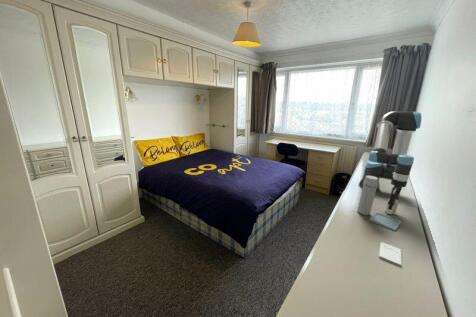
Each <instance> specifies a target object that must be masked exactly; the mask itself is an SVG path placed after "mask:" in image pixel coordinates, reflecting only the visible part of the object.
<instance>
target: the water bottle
mask: <svg viewBox="0 0 476 317" xmlns="http://www.w3.org/2000/svg"><path fill="white" fill-rule="evenodd" d="M377 184H378V178H377V177H374V176H366V177H365V180H364V182H363V188H361V192H360V193H361V194H360V198H359V202H358V207H357V212H358V213H359V214H362V215H364V216H369V215H371V213H372V212H371V211H372V207H373V204H374V200H375V196H376V193H377V191H376V189H377V187H378V185H377Z"/></svg>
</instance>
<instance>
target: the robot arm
mask: <svg viewBox="0 0 476 317" xmlns="http://www.w3.org/2000/svg"><path fill="white" fill-rule="evenodd" d="M421 124H422V113H421V112H419V111H402V110H401V111H400V110H399V111H398V110H393V111H390V112H389V111H388V112H387V113H385V114H384V115H382V116H381V117H380V118H379V119H378V121H377V134H376V138H375V143H374V147H373V150H370V151H369V156H368V159H367V160H368V161H367V162H366V163H365V166H364V170H363V175H362V178H361V179H360V181H359V182H358V186H359V187H360V188H361V189H362V188H363V182H364V180H365V177H366V176H374V177H377V178H378V184H377V185H378V187H377V189H376V192H378V191H380V188H381V185H380V179H384V180H388V181H391V182H390V184H391V185H392V186H393V187H392V189H391V193H390V197H389V198H388V199H389V203H387V202H386V205H387V204H389V205H388V208H387V212H386V211H385V212H386V213H387V214H389V215H393V214H392V211H393V208H394V203H395V200H396V199H397V200H398V201H399V198H400V194H401V191H402V189H403V188H406V187H407V184H408V181H409V178H410V173H411V170H412V167H413V164H414V160H415V158H414V156H412V155H408V154H407V153H408V151H409V146H410V143H411V139H412V135H413V133H415V132H416V131H417V129H420V128H421ZM394 127H395V130H396V131H397V134H396V137H395V140H394V144H393V147H392V152H391V153H390V152H389V153H388V147H389V146H388V145H389V141H390V135H391V129H392V128H394Z"/></svg>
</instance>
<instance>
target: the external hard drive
mask: <svg viewBox="0 0 476 317" xmlns="http://www.w3.org/2000/svg"><path fill="white" fill-rule="evenodd" d="M378 259H381V260H384V261H386V262H389V263H391V264H393V265H395V266H398V267H399V268H402V265H403V262H402V260H403V259H402V249H401V248H398V247H396V246H393V245H391V244H388V243H385V242H382V241H381V242H380V244H379V254H378Z"/></svg>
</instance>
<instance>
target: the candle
mask: <svg viewBox="0 0 476 317" xmlns="http://www.w3.org/2000/svg"><path fill="white" fill-rule="evenodd" d="M389 199H390V198H388V199H387V202H386V207H385V212H387V208H388V205H389V204H387V203H389ZM399 203H400V201H399V199H398V200H397V199H396V200H395V203H394V208H393V211H392V214H391V215H396V213H397V209H398V206H399Z"/></svg>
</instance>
